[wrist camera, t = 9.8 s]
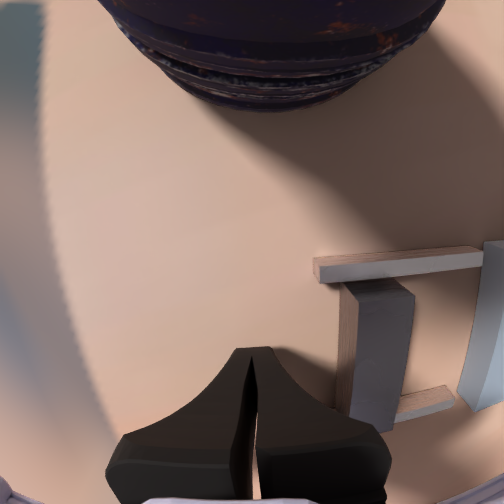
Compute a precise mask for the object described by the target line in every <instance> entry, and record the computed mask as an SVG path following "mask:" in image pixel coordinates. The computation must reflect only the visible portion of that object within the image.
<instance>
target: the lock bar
mask: <svg viewBox="0 0 504 504" xmlns="http://www.w3.org/2000/svg"><path fill="white" fill-rule="evenodd" d="M414 303H415V295H414V294H412V293H411V292H410V291H408V290H407V289H406V288H405V287H403V286H402V285H401V284H399V283H398V282H397V281H396V280H394V279H393V278H392V277H386V278H376V279H366V280H356V281H345V282H340V310H339V341H338V362H337V378H336V392H335V407H336V410H337V412H339V413H341V414H343V415H346V416H348V417H350V418H353V419H357V420H360V421H363V422H366V423H369V424H372V425H373V426H374V427H375V428H376V430H377V431H378V433H382V432H387V431H391V430H392V429H393V425H394V421H395V417H396V413H397V409H398V404H399V399H400V395H401V390H402V385H403V380H404V374H405V369H406V363H407V357H408V351H409V344H410V337H411V329H412V321H413V313H414Z"/></svg>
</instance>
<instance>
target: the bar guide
mask: <svg viewBox="0 0 504 504" xmlns="http://www.w3.org/2000/svg"><path fill="white" fill-rule="evenodd" d="M483 254H484V251H481V250H479V249H476V248H473V247H471V246H468V245H466V246H454V247H443V248H431V249H419V250H406V251H394V252H382V253H369V254H356V255H343V256H330V257H317V258H313V273H314V275H315V277H316V278H317V280H318V282H319V283H320V284H323V283H334V282H345V281H356V280H366V279H376V278H386V277H395V276H405V275H414V274H422V273H431V272H440V271H448V270H456V269H464V268H471V267H479V266H482V265H483ZM454 401H455V397H454V396H453V395H452V393H451V392H450V391H449V390H448V388H447V387H446V386H445V385H444V386H440V387H437V388H433V389H429V390H425V391H421V392H417V393H413V394H409V395H404V396H400V399H399V404H398V409H397V413H396V417H395V421H394V423H398V422H402V421H406V420H410V419H414V418H418V417H421V416H425V415H429V414H432V413H435V412H439V411H442V410H445V409H449V408H452V407H453V404H454ZM332 409H333V410H335V411H337V410H336V408H332Z"/></svg>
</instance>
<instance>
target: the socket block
mask: <svg viewBox="0 0 504 504" xmlns="http://www.w3.org/2000/svg"><path fill="white" fill-rule="evenodd" d="M483 251H484V254H483V265H482V267H481V276H480V284H479V292H478V299H477V305H476V311H475V317H474V322H473V328H472V333H471V337H470V342H469V347H468V351H467V355H466V359H465V363H464V367H463V371H462V375H461V378H460V382H459V385H458V389H457V392H458V393H459V395H460V396H461V397H462V398H463V399H464V401H465V402H466V403H467V404H468V405H469V407H470V408H471V409H472V410H473V411H474V412H477V411H479V410H482V409H485V408H487V407H490V406H492V405H494V404H497V403H499V402H501V401H504V240H498V241H486V242H484V244H483Z"/></svg>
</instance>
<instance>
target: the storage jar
mask: <svg viewBox="0 0 504 504" xmlns="http://www.w3.org/2000/svg"><path fill="white" fill-rule="evenodd" d="M98 1H99V2H100V3H101V4H102V5H103V7H104V8H105V9H106V10H107V11H108V12H109V13H110V14H111V15H112V17H113V19H114V21H115V23H116V24H117V26H118V28H119V29H120V30H121V31H122V32H123V33H124V35H125V36H126V37H127V38H128V39H129V40H130V41H131V42H132V43H133V44H134V45H135V47H136V48H137V49H138V50H139V51H140V52H141V53H142V54H143V55H144V56H146V57H147V58H148V59H150V60H151V61H152V62H153V63H155V64H156V65H157V66H159V67H160V68H161V69H162V71H163V72H164V73H165V74H166V75H167V76H168V77H169V78H170V79H171V80H173V81H174V82H175V83H176V84H177V85H179V86H180V87H181V88H183V89H184V90H186V91H188V92H190V93H191V94H193V95H195V96H197V97H198V98H201V99H203V100H206V101H209V102H211V103H214V104H216V105H219V106H223V107H228V108H232V109H236V110H242V111H251V112H259V113H260V112H286V111H292V110H299V109H304V108H308V107H311V106H315V105H318V104H321V103H324V102H326V101H328V100H330V99H332V98H335V97H337V96H339V95H340V94H342V93H343V92H345V91H346V90H348V89H350V88H351V87H353V86H354V85H355V84H356V83H357V82H358V81H359V80H360V79H363V78H365V77H366V76H368V75H369V74H371V73H372V72H374V71H376V70H377V69H379V68H380V67H382V66H383V65H384V64H385V63H387V62H388V61H389V60H390V59H391V58H393V57H394V56H395V55H396V54H397V53H398V52H400V51H402V50H403V49H405V48H407V47H409V46H411V45H412V44H413V43H414V42H415V41H416V40H418V39H419V38H420V37H421V36H422V35H423V34H424V33H425V32H426V31H427V30H428V28H429V27H430V25H431V24H432V22H433V21H434V20H435V19H436V17H437V15H438V14H439V12H440V11H441V9H442V7H443V6H444V4H445V1H446V0H98Z"/></svg>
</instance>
